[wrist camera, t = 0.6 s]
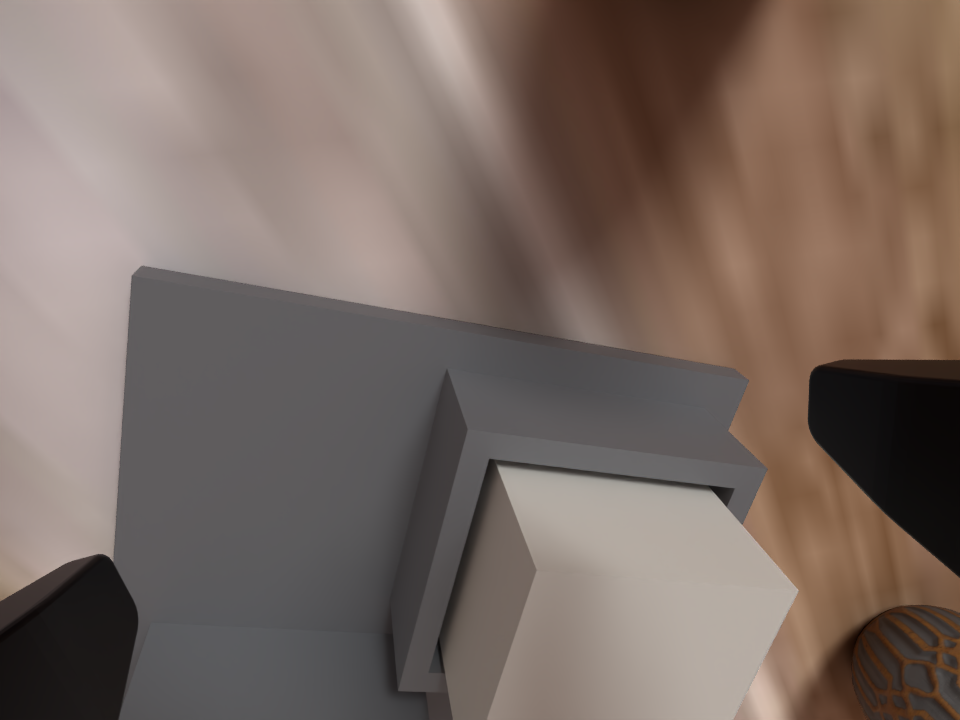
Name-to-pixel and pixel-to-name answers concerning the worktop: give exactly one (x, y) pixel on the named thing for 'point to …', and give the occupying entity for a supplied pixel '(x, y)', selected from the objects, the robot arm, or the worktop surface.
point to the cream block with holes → (606, 600)
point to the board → (353, 484)
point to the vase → (909, 665)
